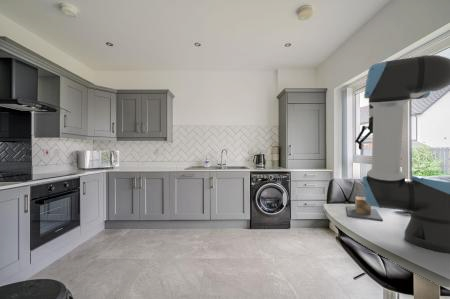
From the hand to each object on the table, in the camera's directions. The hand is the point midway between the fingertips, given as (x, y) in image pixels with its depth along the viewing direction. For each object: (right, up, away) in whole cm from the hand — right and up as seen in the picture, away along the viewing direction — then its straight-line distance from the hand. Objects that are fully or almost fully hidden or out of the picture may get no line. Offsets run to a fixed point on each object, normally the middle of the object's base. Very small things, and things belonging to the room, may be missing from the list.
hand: (376, 155), depth 115 cm
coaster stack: (-10, -29, -4) cm, 31 cm away
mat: (-10, -30, -4) cm, 32 cm away
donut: (+16, -31, -1) cm, 35 cm away
